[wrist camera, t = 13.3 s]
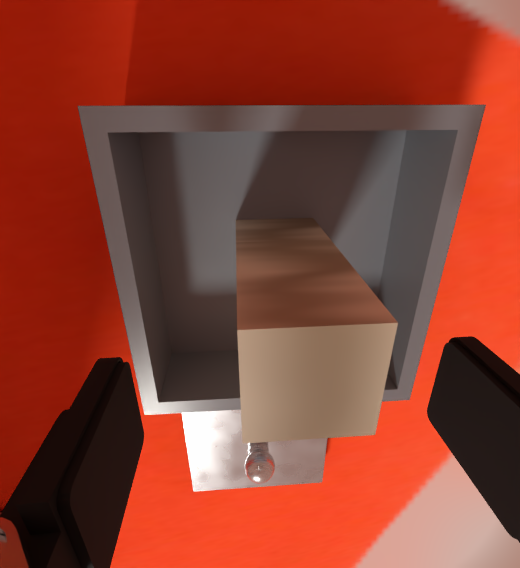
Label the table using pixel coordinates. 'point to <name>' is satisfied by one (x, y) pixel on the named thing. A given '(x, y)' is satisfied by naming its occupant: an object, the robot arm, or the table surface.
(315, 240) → the strut
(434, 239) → the bin
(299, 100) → the table surface
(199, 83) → the table surface
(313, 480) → the square lid with knob
